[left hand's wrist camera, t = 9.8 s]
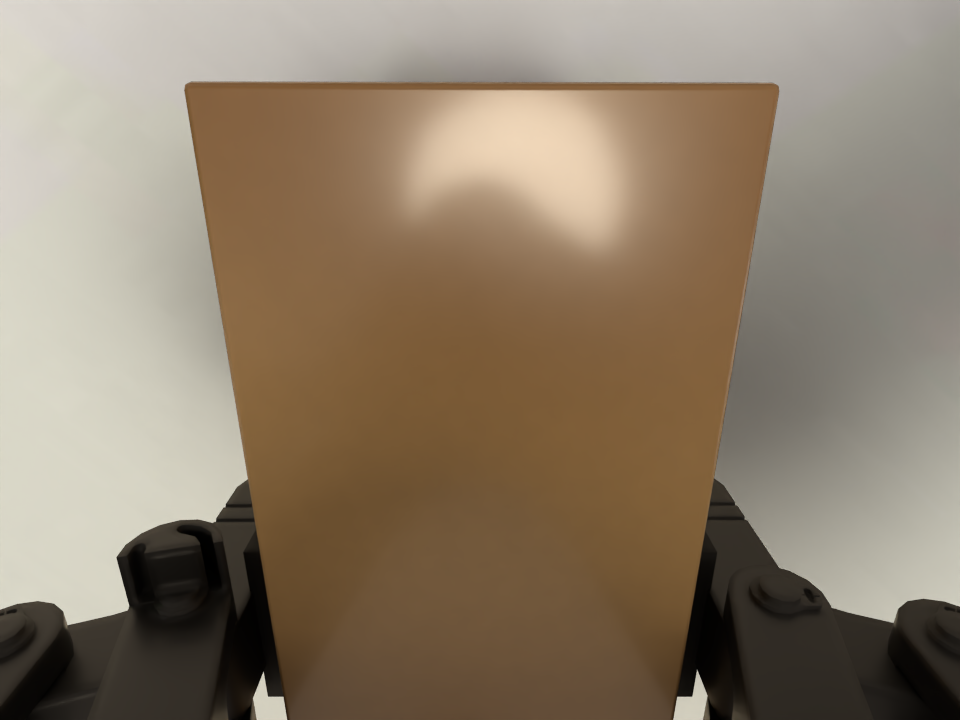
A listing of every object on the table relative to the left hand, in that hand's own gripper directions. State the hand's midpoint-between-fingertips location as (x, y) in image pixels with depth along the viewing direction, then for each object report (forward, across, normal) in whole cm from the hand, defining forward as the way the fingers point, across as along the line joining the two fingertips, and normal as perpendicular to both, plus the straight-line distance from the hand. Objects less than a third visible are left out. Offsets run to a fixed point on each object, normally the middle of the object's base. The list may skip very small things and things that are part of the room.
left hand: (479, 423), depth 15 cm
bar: (+1, 0, -29) cm, 29 cm away
